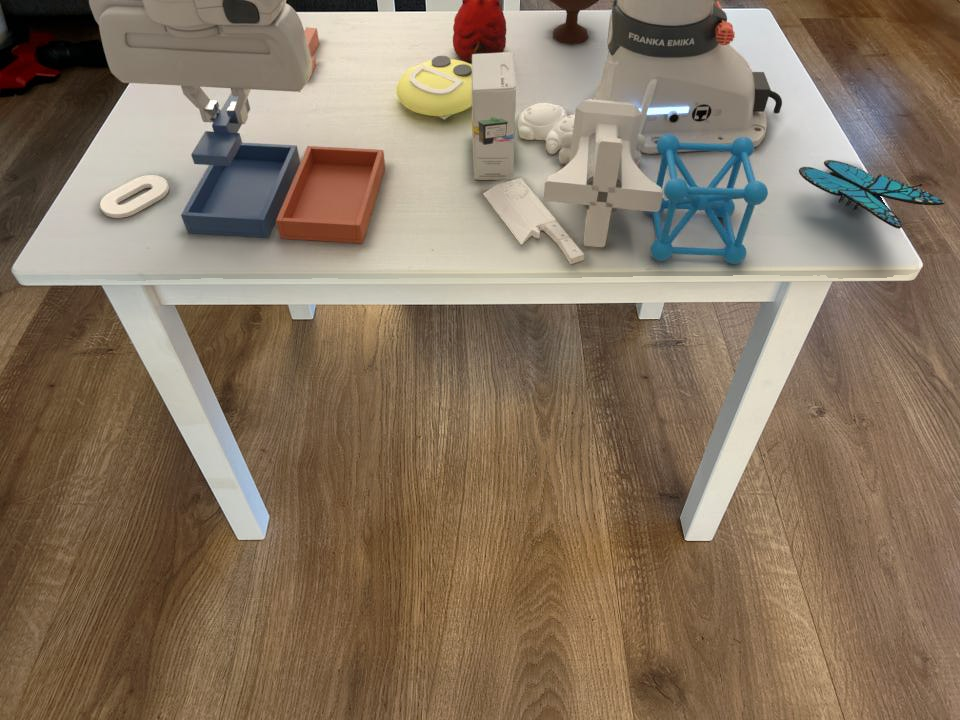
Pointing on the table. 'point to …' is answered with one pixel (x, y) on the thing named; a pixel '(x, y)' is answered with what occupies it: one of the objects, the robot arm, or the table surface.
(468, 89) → the emoji
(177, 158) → the table surface
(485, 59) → the ink box
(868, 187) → the butterfly
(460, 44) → the red clay folk toy
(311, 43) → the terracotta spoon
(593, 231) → the toy gun turret
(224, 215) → the blue tray
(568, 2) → the ice cream bowl
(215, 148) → the paddle
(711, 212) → the molecular structure
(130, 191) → the chain link
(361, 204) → the terracotta tray
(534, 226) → the cleaver
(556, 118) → the astronaut figurine
